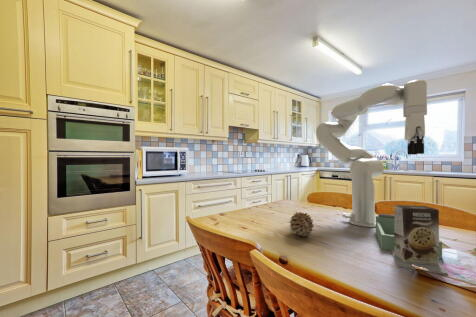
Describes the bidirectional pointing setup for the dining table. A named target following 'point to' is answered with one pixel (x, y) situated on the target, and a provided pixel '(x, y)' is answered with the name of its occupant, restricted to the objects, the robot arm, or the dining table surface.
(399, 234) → the cookie box
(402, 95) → the robot arm
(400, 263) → the mat
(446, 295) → the dining table surface
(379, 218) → the tray
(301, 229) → the pine cone
